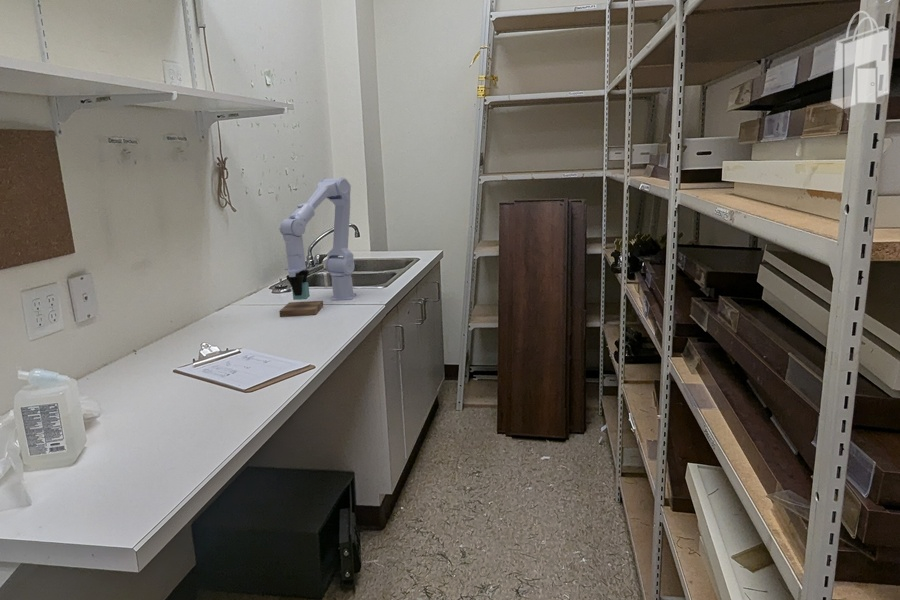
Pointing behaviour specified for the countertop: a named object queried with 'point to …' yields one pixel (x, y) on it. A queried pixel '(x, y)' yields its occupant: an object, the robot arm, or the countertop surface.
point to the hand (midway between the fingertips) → (300, 293)
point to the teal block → (304, 292)
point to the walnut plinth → (301, 308)
